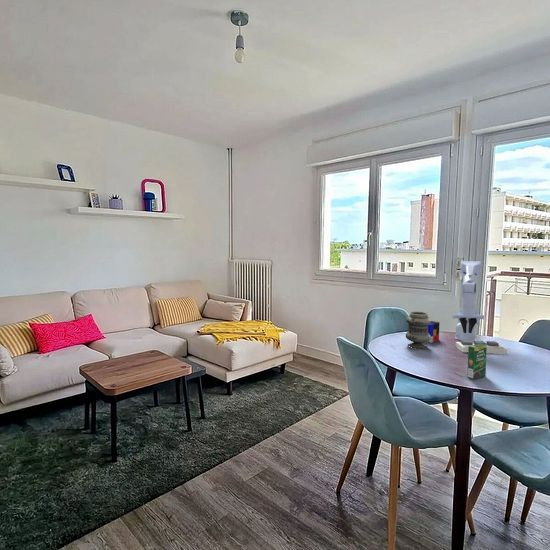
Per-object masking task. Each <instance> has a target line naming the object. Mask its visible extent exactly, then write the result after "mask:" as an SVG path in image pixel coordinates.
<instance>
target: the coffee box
mask: <svg viewBox="0 0 550 550" xmlns="http://www.w3.org/2000/svg"><path fill="white" fill-rule="evenodd" d="M486 351H487V345H485V344H482V343H480V344H476V345H472V346H469V347H468V353H467V354H468V355H467V374H466V375H467V378H468V379H471V380H477V379H479V378H484V377H487V375H486V374H487V371H486V370H487V353H486Z"/></svg>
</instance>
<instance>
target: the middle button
mask: <svg viewBox="0 0 550 550" xmlns="http://www.w3.org/2000/svg"><path fill="white" fill-rule="evenodd" d="M473 343H474V345H476V344H480V343H482V344H485V345H486V343H487V342H485V341H484V340H479V341H474V342H473Z"/></svg>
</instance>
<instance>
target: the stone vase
mask: <svg viewBox="0 0 550 550" xmlns="http://www.w3.org/2000/svg"><path fill="white" fill-rule="evenodd" d="M431 321H432V320H431V318H429V316H428V312H424V311H419V310H418V311H415V310H414V311H411V312H410V313H409V315H408V316H407V318H406V322H407V323H408V329H407V330H408V331H406V333H405V338H406V340H408V341H409V342H411V343H408V344H407V345H408V346H410V347H412V348H416V349H415V350H422V349H424V350H427V349H428V346H427V345H425V344H424V343H428V341H429V340H430V338H431V336H430V334H429V333H428V325H429V324H430V323H431ZM408 346H407V347H408ZM412 348H411V349H412Z"/></svg>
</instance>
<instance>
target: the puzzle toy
mask: <svg viewBox="0 0 550 550" xmlns="http://www.w3.org/2000/svg"><path fill="white" fill-rule="evenodd" d="M428 333H429V334H430V336H431V338H430V340H429V341H428V342H431V343H434V342H436V341H435V340H437V341H439V340H440V321H436V320H435V321H433V320H431V323H430V324H429V325H428ZM438 339H439V340H438ZM433 341H434V342H433ZM428 342H427V343H428Z"/></svg>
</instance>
